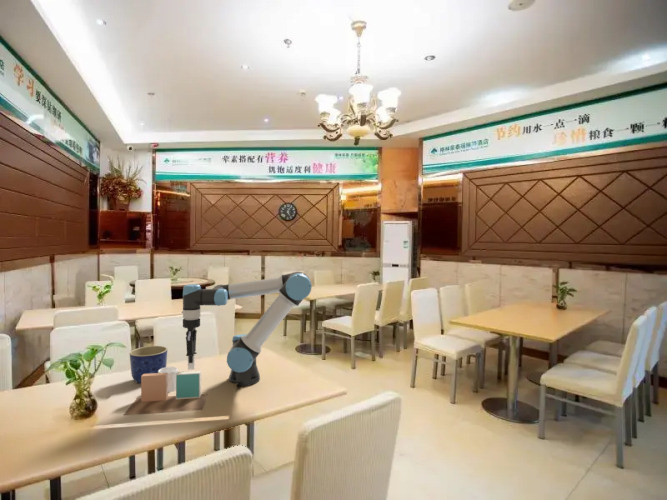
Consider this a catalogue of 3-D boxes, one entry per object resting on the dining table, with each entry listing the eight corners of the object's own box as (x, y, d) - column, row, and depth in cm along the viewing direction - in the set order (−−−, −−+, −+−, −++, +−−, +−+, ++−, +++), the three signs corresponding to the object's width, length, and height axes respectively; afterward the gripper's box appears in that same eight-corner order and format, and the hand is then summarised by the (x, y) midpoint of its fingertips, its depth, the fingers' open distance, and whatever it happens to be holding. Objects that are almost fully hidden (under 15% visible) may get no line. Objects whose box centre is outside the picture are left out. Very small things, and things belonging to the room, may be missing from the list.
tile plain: (167, 397, 165) (167, 372, 165) (166, 400, 162) (165, 375, 162) (143, 398, 164) (143, 373, 163) (141, 401, 161) (141, 376, 160)
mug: (150, 398, 167) (149, 375, 167) (148, 391, 174) (148, 369, 174) (178, 393, 173) (178, 370, 173) (176, 386, 180) (176, 365, 180)
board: (208, 396, 169) (208, 393, 169) (202, 412, 154) (202, 409, 154) (137, 400, 164) (137, 398, 164) (123, 418, 148) (123, 415, 148)
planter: (170, 382, 185) (170, 352, 185) (131, 390, 176) (131, 358, 175) (164, 372, 199) (164, 344, 199) (127, 378, 190) (127, 349, 189)
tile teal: (200, 395, 168) (200, 370, 167) (199, 398, 165) (199, 373, 164) (177, 396, 166) (177, 372, 166) (175, 399, 163) (175, 374, 163)
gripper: (185, 315, 178) (185, 364, 178) (179, 321, 165) (179, 374, 165) (202, 315, 179) (202, 364, 180) (197, 321, 166) (197, 373, 167)
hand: (191, 369), depth 173 cm, fingers closed
